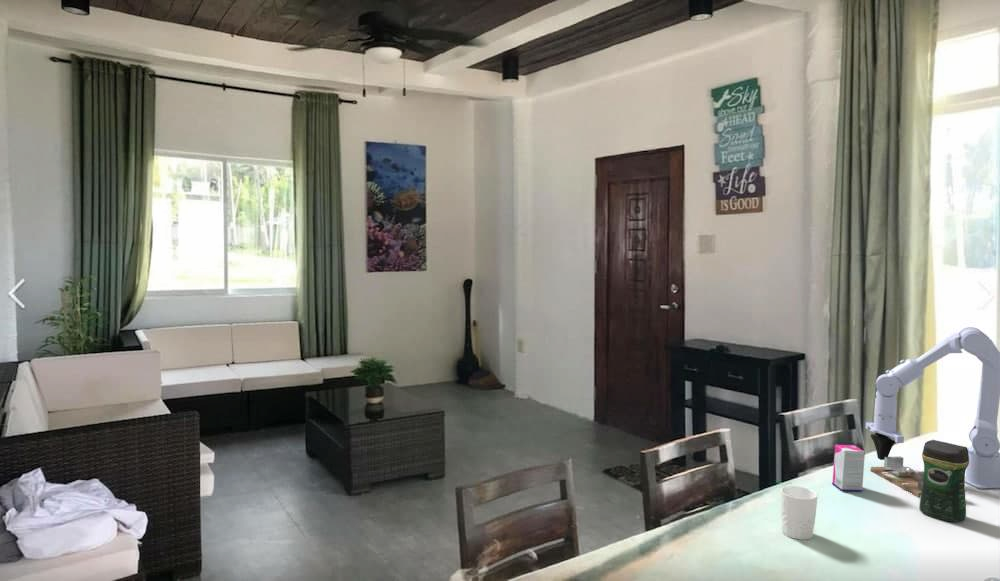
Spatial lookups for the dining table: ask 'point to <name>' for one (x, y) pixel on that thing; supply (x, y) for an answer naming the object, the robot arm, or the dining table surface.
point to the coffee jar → (944, 480)
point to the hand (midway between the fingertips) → (882, 459)
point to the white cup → (798, 512)
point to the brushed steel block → (897, 467)
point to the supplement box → (848, 468)
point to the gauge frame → (903, 480)
